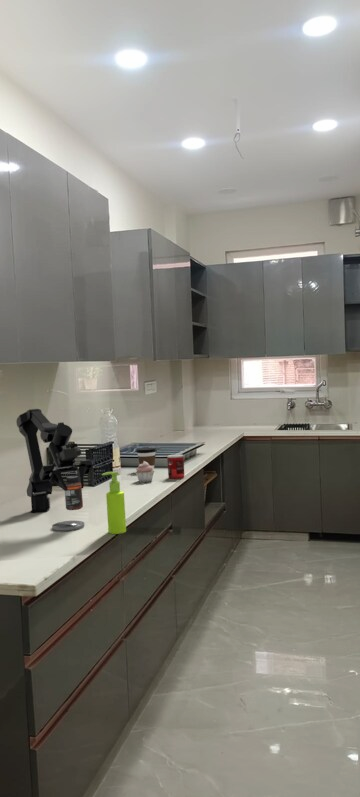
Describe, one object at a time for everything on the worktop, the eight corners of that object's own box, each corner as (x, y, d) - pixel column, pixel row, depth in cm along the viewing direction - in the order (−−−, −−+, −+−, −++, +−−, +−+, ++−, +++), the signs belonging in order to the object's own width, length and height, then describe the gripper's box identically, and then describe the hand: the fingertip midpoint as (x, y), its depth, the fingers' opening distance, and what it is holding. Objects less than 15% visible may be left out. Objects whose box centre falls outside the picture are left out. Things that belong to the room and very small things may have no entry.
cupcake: (135, 480, 299) (134, 459, 299) (154, 479, 300) (153, 458, 299) (135, 483, 290) (134, 462, 290) (155, 482, 291) (153, 461, 290)
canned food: (169, 476, 305) (168, 454, 304) (185, 476, 304) (184, 454, 303) (167, 479, 297) (166, 456, 297) (183, 478, 296) (182, 456, 296)
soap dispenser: (106, 529, 207) (103, 471, 206) (127, 528, 207) (123, 470, 206) (104, 534, 201) (100, 474, 200) (125, 533, 201) (121, 473, 200)
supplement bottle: (78, 505, 218) (76, 474, 218) (86, 508, 214) (84, 476, 213) (62, 508, 215) (60, 476, 214) (70, 511, 210) (68, 478, 209)
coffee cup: (143, 469, 332) (141, 447, 332) (161, 469, 328) (160, 447, 327) (133, 472, 322) (132, 450, 322) (152, 473, 318) (151, 450, 317)
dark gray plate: (49, 532, 207) (49, 529, 207) (55, 524, 218) (54, 521, 218) (82, 530, 208) (82, 527, 208) (86, 522, 219) (85, 519, 219)
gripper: (40, 442, 211) (54, 478, 202) (89, 437, 221) (105, 471, 213) (33, 463, 218) (47, 498, 209) (81, 456, 228) (96, 490, 220)
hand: (74, 488), depth 213 cm, fingers closed on supplement bottle, 6 cm apart
